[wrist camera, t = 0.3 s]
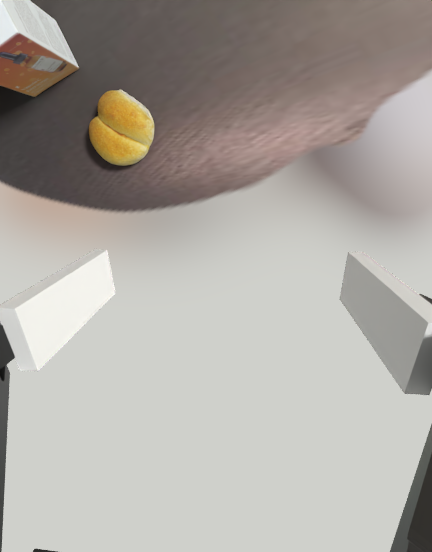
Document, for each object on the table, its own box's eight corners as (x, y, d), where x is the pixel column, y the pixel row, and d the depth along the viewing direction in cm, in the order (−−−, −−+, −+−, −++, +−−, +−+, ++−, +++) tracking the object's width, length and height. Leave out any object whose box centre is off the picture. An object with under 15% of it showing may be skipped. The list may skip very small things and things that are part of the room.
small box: (35, 98, 37) (-39, 75, 27) (9, 52, 35) (-80, 10, 26) (81, 69, 35) (19, 33, 25) (56, 19, 33) (-21, -40, 24)
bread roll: (87, 143, 39) (70, 141, 35) (114, 82, 35) (98, 72, 32) (136, 178, 40) (124, 180, 36) (166, 122, 37) (157, 118, 33)
